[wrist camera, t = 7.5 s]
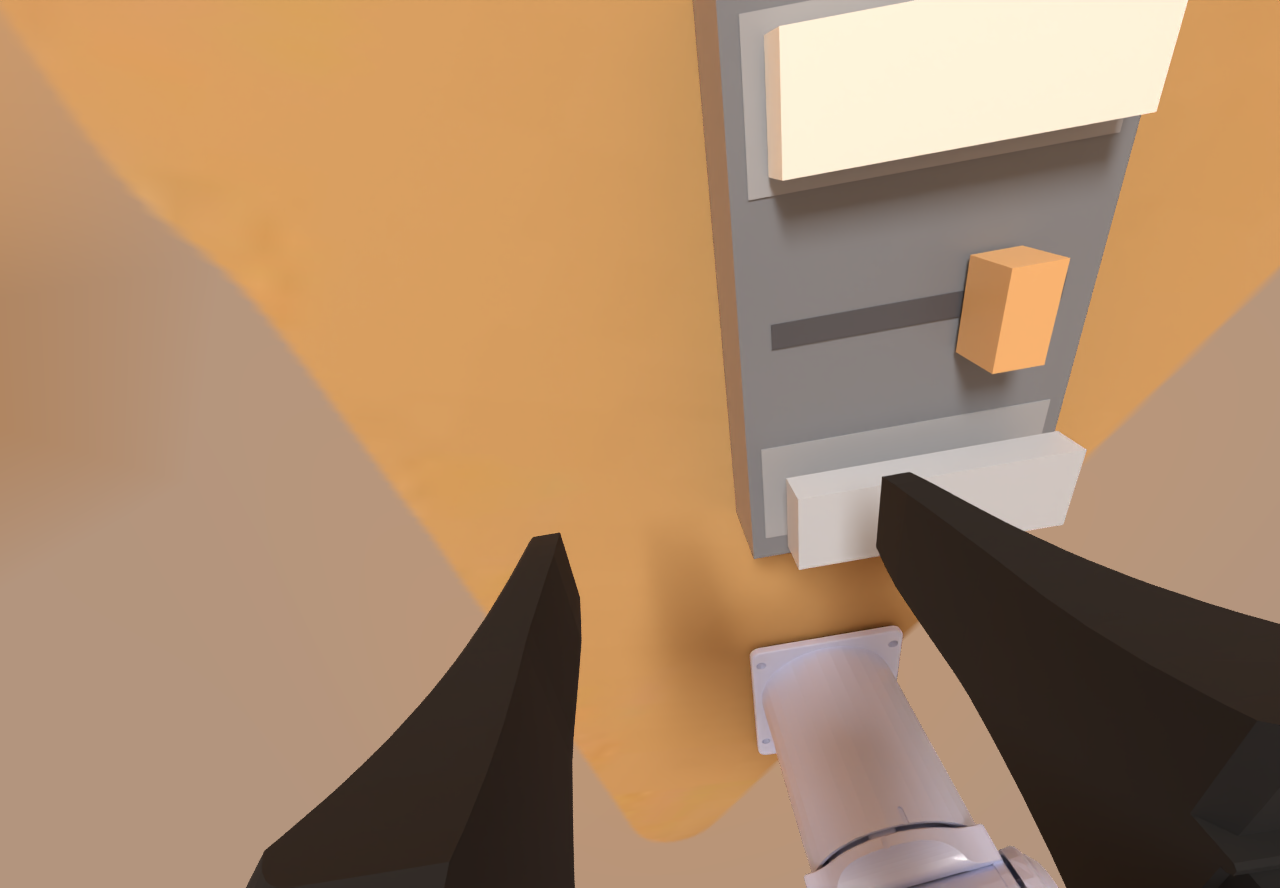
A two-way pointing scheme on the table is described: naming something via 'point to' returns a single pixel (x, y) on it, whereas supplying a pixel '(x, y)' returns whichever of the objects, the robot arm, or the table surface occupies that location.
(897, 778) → the robot arm
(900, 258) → the panel
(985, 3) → the cream bar
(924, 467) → the grey bar
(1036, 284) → the orange rectangular block
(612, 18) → the table surface
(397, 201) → the table surface
